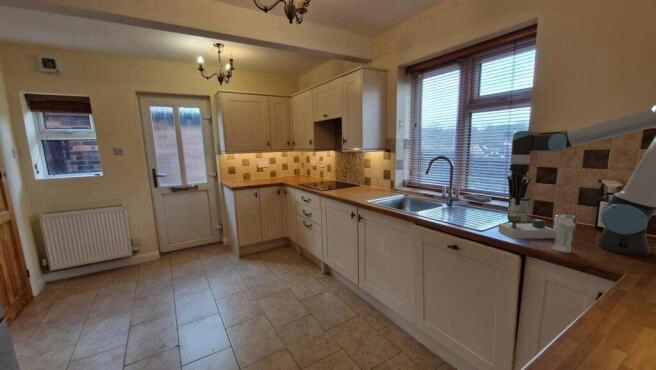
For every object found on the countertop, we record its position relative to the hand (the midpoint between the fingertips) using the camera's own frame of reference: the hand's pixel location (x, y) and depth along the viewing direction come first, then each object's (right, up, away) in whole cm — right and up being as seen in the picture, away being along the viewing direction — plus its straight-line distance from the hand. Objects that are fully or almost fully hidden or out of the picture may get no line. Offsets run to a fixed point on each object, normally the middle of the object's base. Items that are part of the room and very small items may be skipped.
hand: (514, 211), depth 131 cm
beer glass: (+7, -15, -18) cm, 25 cm away
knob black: (+12, -11, +1) cm, 16 cm away
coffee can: (+20, -8, +26) cm, 34 cm away
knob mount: (+6, -12, +1) cm, 14 cm away
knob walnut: (0, -9, +1) cm, 9 cm away
